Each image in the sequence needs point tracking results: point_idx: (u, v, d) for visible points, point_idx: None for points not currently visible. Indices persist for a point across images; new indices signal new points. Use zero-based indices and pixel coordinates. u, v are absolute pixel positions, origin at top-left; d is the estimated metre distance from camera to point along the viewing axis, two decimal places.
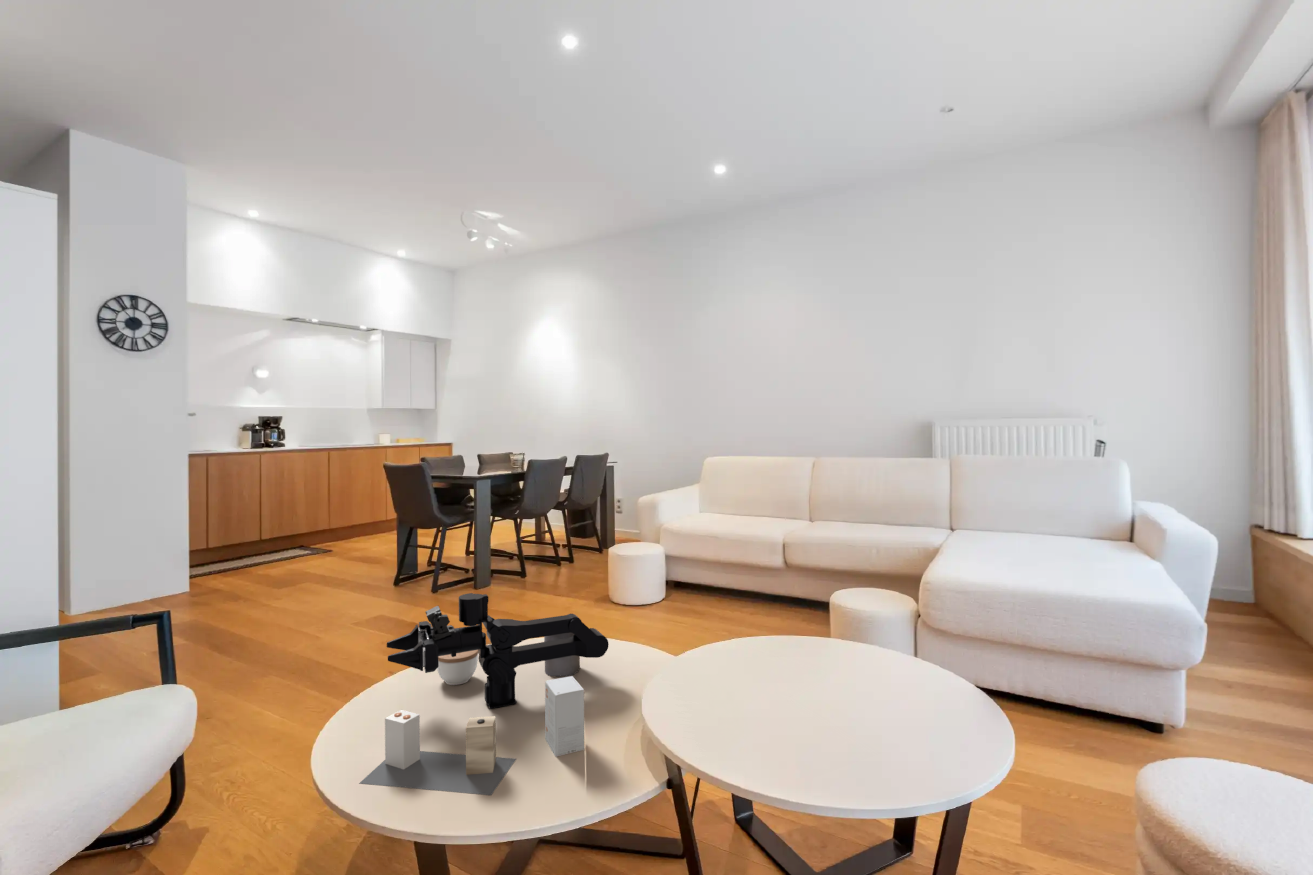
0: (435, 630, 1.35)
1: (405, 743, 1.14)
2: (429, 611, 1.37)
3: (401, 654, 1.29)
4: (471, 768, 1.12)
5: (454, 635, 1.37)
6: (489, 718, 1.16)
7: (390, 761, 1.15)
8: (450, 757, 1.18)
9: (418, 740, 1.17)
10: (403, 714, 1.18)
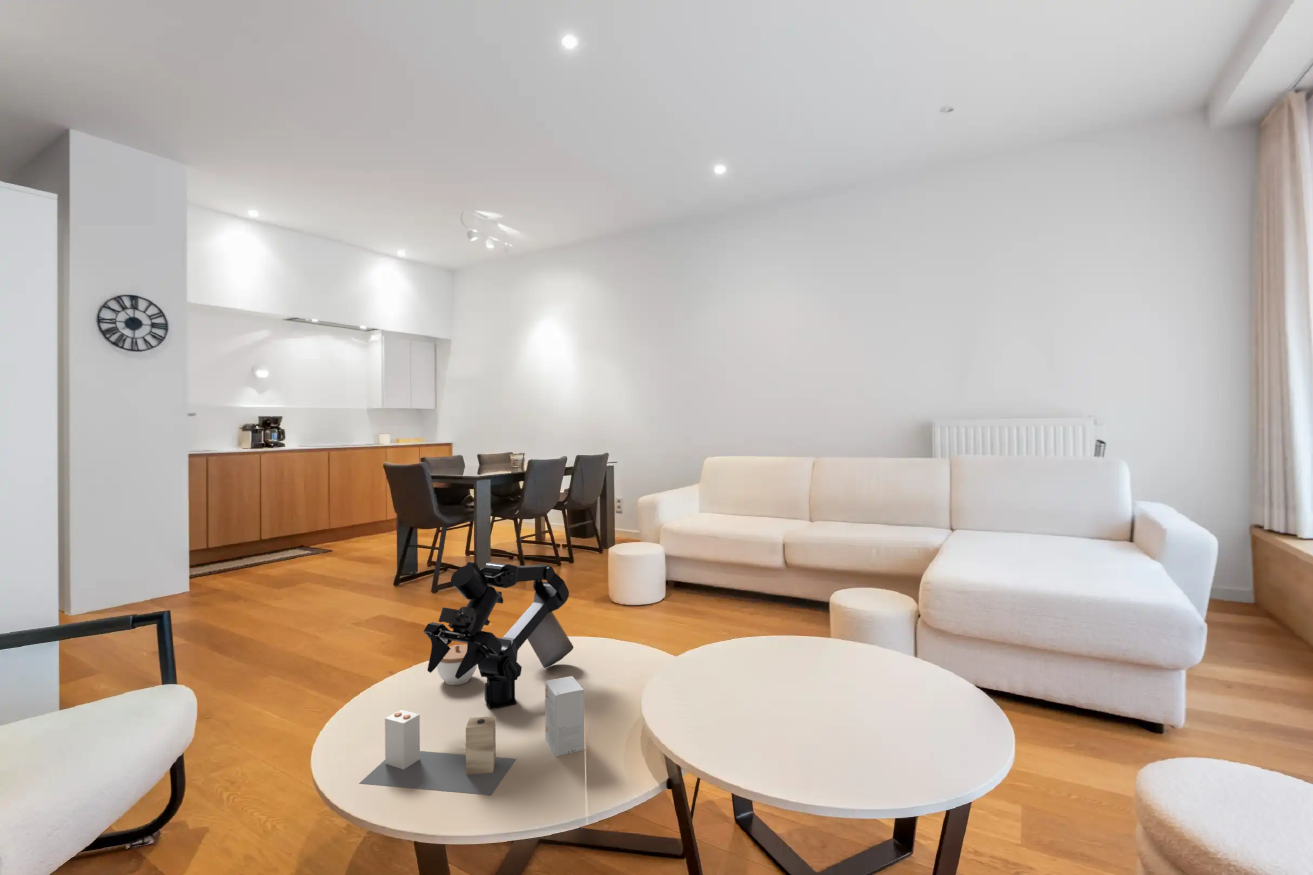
0: (465, 624, 1.30)
1: (405, 743, 1.14)
2: (445, 618, 1.28)
3: (465, 664, 1.26)
4: (471, 768, 1.12)
5: (479, 612, 1.34)
6: (489, 718, 1.16)
7: (390, 761, 1.15)
8: (450, 757, 1.18)
9: (418, 740, 1.17)
10: (403, 714, 1.18)
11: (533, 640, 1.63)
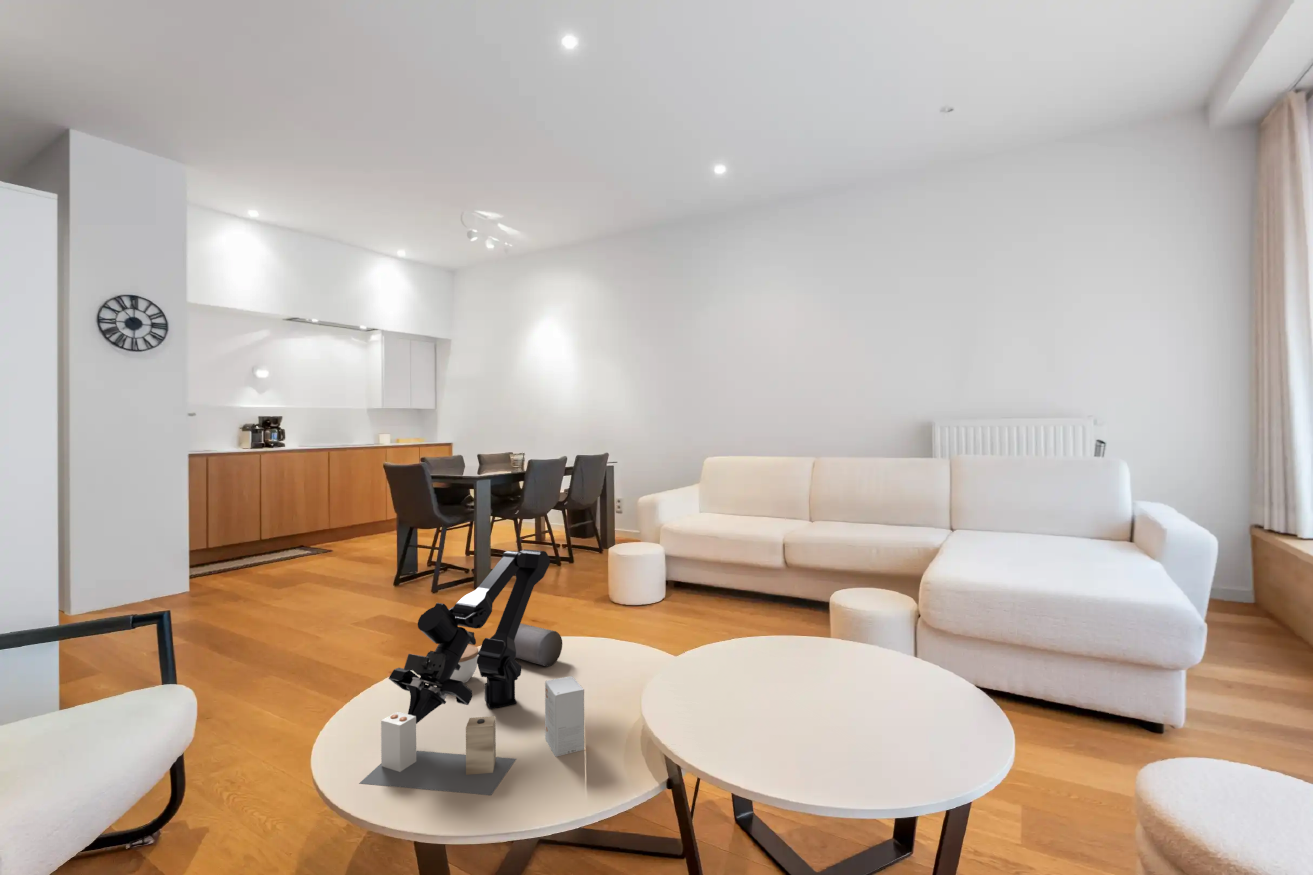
0: (433, 672, 1.21)
1: (401, 745, 1.13)
2: (411, 666, 1.19)
3: (417, 713, 1.19)
4: (471, 768, 1.12)
5: (448, 657, 1.25)
6: (489, 718, 1.16)
7: (386, 763, 1.15)
8: (450, 757, 1.18)
9: (414, 742, 1.16)
10: (399, 716, 1.17)
11: (520, 647, 1.66)
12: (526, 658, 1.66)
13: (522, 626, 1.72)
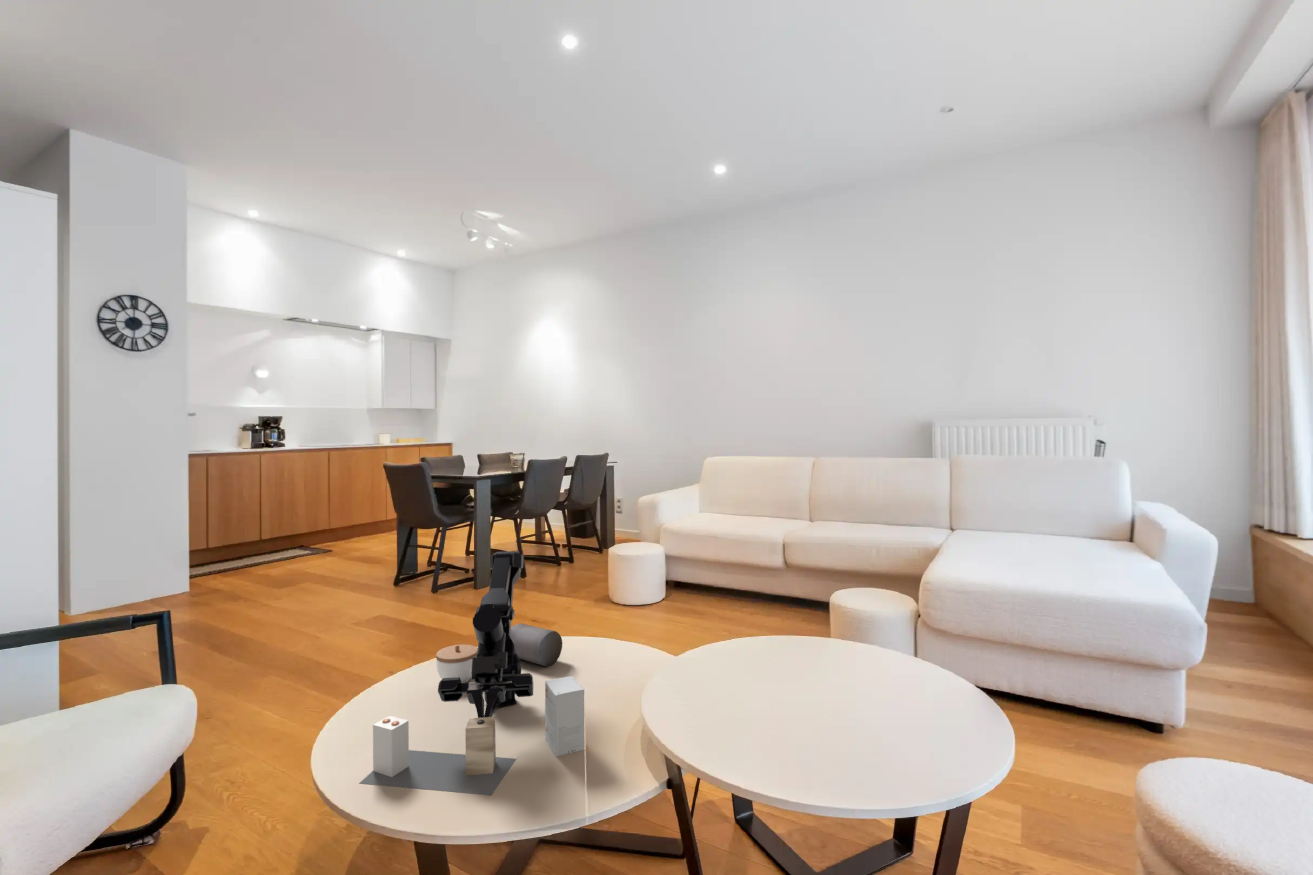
0: (497, 671, 1.21)
1: (393, 750, 1.12)
2: (482, 668, 1.17)
3: (489, 714, 1.18)
4: (471, 769, 1.12)
5: None
6: (489, 719, 1.15)
7: (378, 768, 1.13)
8: (450, 757, 1.18)
9: (407, 747, 1.15)
10: (392, 720, 1.15)
11: (520, 647, 1.66)
12: (526, 658, 1.66)
13: (522, 626, 1.72)
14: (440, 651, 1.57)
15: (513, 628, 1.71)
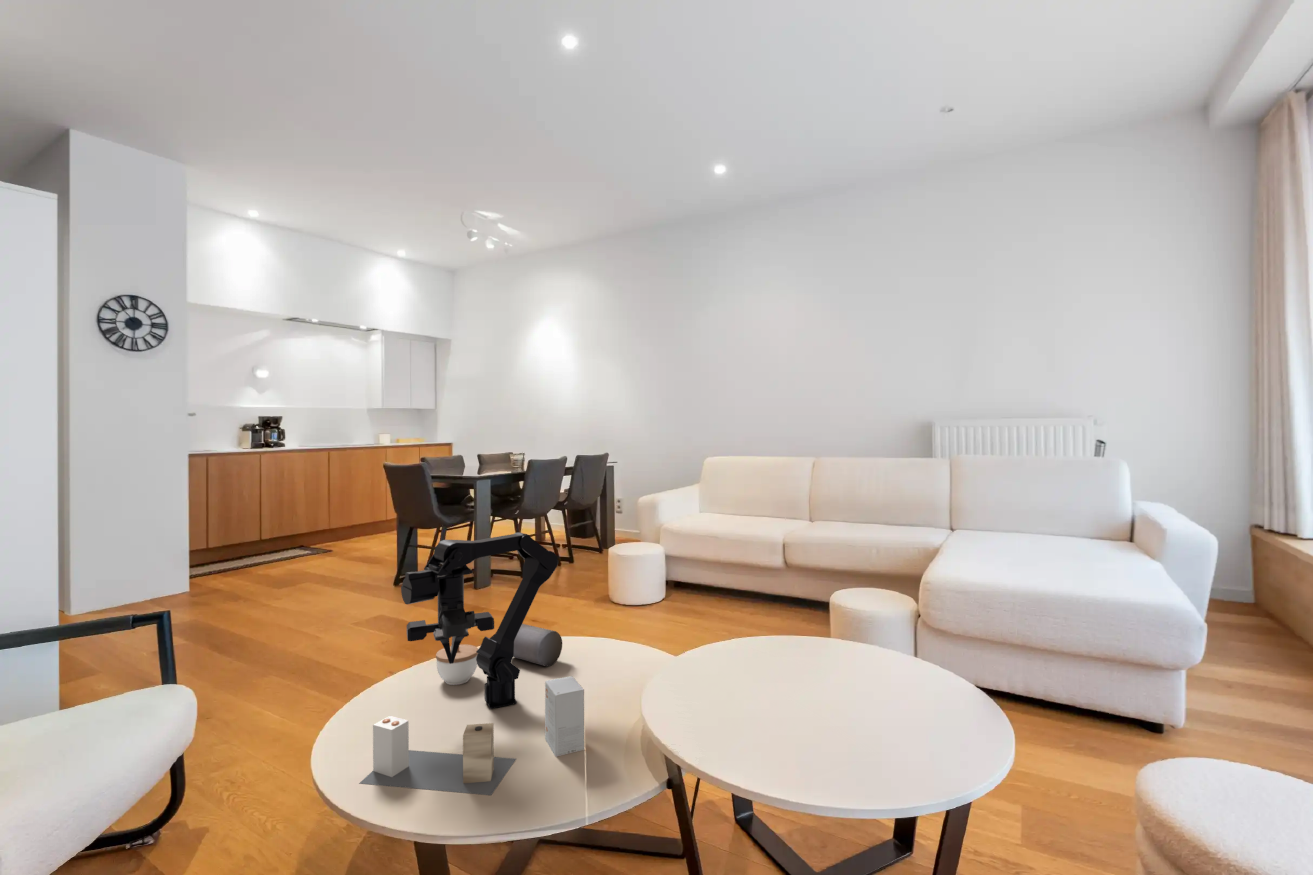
0: None
1: (393, 750, 1.12)
2: (454, 633, 1.28)
3: (456, 651, 1.35)
4: (468, 776, 1.09)
5: (463, 602, 1.34)
6: (487, 725, 1.13)
7: (378, 768, 1.13)
8: (450, 757, 1.18)
9: (407, 747, 1.15)
10: (392, 720, 1.15)
11: (520, 647, 1.66)
12: (526, 658, 1.66)
13: (522, 626, 1.72)
14: (440, 651, 1.57)
15: None
